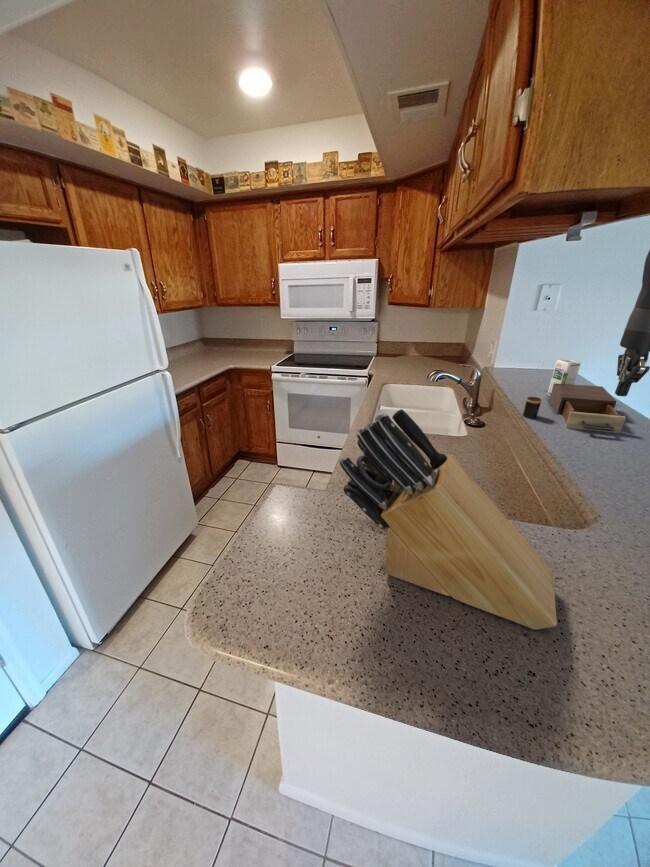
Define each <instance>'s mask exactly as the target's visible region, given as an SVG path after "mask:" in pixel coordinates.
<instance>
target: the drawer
mask: <svg viewBox="0 0 650 867" xmlns="http://www.w3.org/2000/svg"><path fill="white" fill-rule="evenodd" d="M560 414H561V415H562V417H563V419H564V421H565V428H566V429H574V430H575V429H576V430H585V431H595V432H596V431H597V432H605V433H613V434H620V433H621V431H622V429H623V426H624V425H625V424H624V423H625V421H626V419H627V417H626V416H625V415H620V414H619V412H617V411H616V409H615V407H614V408H613V407H612V406H611V405H610V404H609V403H598V402H586V401H573V400H564V403H563V406H562V409H561V413H560Z"/></svg>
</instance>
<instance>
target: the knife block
mask: <svg viewBox="0 0 650 867" xmlns="http://www.w3.org/2000/svg"><path fill="white" fill-rule="evenodd" d="M355 434H356V437H357V439H358V440H357V442H356V443H357V446H358V447H359V449H360V450H361V452H362V453H363V455H360V456H359V457H357V459H356V461H355V462H356V464H355V463H354V462H353V460H351V458H350V457H349V456H345V457H343V458H341V459H339V462H338V463H339V465H340V467H341V468H342V470H343V472H344V473H345V474H346V475H347V476H348V477H349V479H348V481H347V484H346V485H344V486H343V492H344V495H346V496H347V497H349V498H350V499H351V500H352V501H353V502H354V504H356V505H357V507H358V508H359V509H360V510H361V511H362V512H363V513H364V514H365V515H366V516H367V517H368V518H369V519H370V520H371V521H372V522H374V524H376V525H377V526H378V527H379V529H380V530H386V529H387V530H386V540H385V542H386V544H385V573H386V574H387V575H388V576H391V577H394V578H396V579H400V580H402V581H405V582H407V583H411V584H413V585H415V586H417V587H418V586H419V587H421V588H423V589H427V590H430V591H433V592H434V593H438V594H441V595H445V596H447V597H452V598H453V599H454V600H456V601H459V602H461V603H464V604H466V605H469V606H472V607H474V608H477V609H479V610H482V611H485V612H487V613H490V614H492V615H495V616H497V617H501V618H503V619H506V620H509V621H511V622H514V623H517V624H519V625H522V626H525V627H527V628H530V629H533V630H542V629H548V628H555V627H557V625H558V620H557V608H556V597H555V596H556V594H555V585H554V575H553V574H554V573H553V571H552V569H551V568H550V567H549V566H548V564H546V562H545V561H544V560H543V559H542V558H541V556H539V554H538V553H537V552H536V551H535V549H534V548H533V547H532V546H531V545H530V544H529V543H528V541H527V540H526V539H525V538H524V537H523V535H521V533H520V532H519V530H517V529H516V527H515V526H514V525H513V524H512V523H511V522H510V521H509V519H508V518H507V517H506V515H505V514H504V513H503V512H502V511H501V510H500V508H498V507H497V506H496V504H495V503H494V502H493V501H492V499H491V498H490V497H489V496H488V495H487V494H486V493H485V491H483V489H482V488H481V487H480V486H479V484H477V482H476V481H475V480H474V479H473V477H472V476H471V475H469V473H468V472H467V471H466V470H465V468H464V467H462V465H461V464H460V463H459V462H458V461H457V460H456V458H455V457H454V456H453V455H452V454H447V455H446V454H445V453H440V452H438V450H437V449H436V448H435V446H434V445H433V444H432V443H431V441H430V439H429V438H428V436H427V435H426V434H425V432H424V431H423V430H422V428H421V427H420V426H419V425H418V423H416V422H415V421H414V419H413V418H412V417H410V416H409V414H408V413H406V411H405V410H403V408H402V409H398V410H397V411H396V412H395V413H394V414H393V415H392V419H391V417H390V416H389V414H388V413H387V412H385V413H380V414H378V415H377V416H376V417H375V418H374V422H370V423H368V424H366V426H365V427H363V428H360V429H358V430H357V431H356V433H355ZM418 448H419V449H418ZM420 450H421V451H422V453H424V454H425V456H426V457H427V458H428V460H429V462H428V461H427V460H426V458H425V457H424V455H423V454H422V453H421V452H420Z"/></svg>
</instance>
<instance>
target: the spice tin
mask: <svg viewBox="0 0 650 867" xmlns="http://www.w3.org/2000/svg"><path fill="white" fill-rule="evenodd" d="M542 401H543V400H542V398H540V397H537V396H528V397H526V400H525V404H524V409H523V413H522V417H523V418H526V419H531V420H535V419H537V418H538V415H539V411H540V407H541V405H542V404H541V403H542Z"/></svg>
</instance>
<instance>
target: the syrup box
mask: <svg viewBox="0 0 650 867" xmlns="http://www.w3.org/2000/svg"><path fill="white" fill-rule="evenodd" d="M581 364H582V362H580V361H575V360H572V359H569V358H563V359H557V360H556V361H555V364H554V368H553V372H552V375H551V379H550V382H549V386H548V389H547V393H546V396H547V395H548V397H550V396H551V392H552V388H553V385H554V383H555V384H570V385H575V383H576V379H577V376H578V373H579V370H580V367H581Z"/></svg>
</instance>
